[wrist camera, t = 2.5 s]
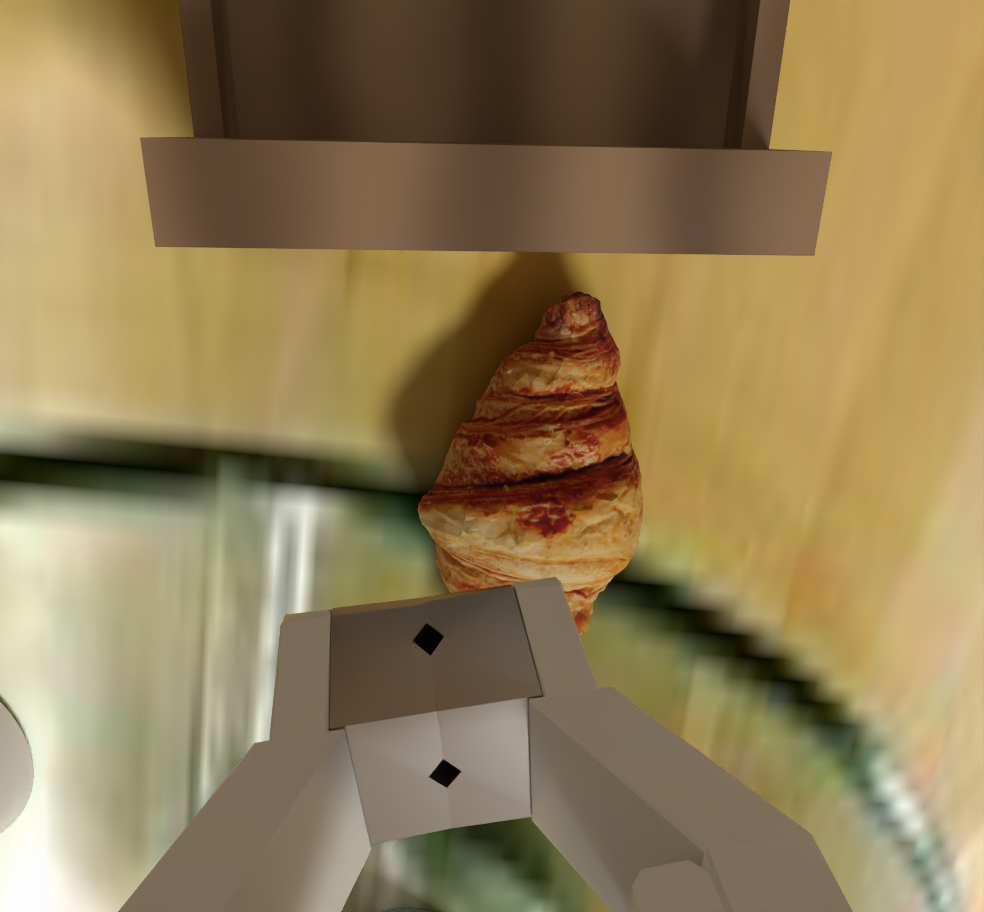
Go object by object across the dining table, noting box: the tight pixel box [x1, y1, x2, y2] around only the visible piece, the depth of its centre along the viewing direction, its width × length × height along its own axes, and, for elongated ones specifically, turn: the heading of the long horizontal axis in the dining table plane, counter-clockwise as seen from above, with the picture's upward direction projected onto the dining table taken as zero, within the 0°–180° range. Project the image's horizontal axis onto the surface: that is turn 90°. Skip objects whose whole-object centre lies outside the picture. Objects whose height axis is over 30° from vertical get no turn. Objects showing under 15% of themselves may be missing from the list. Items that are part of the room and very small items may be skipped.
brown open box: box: [140, 0, 832, 256], centre depth 26 cm, size 22×14×10 cm, turn 89°
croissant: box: [418, 292, 643, 637], centre depth 36 cm, size 21×10×8 cm, turn 172°
